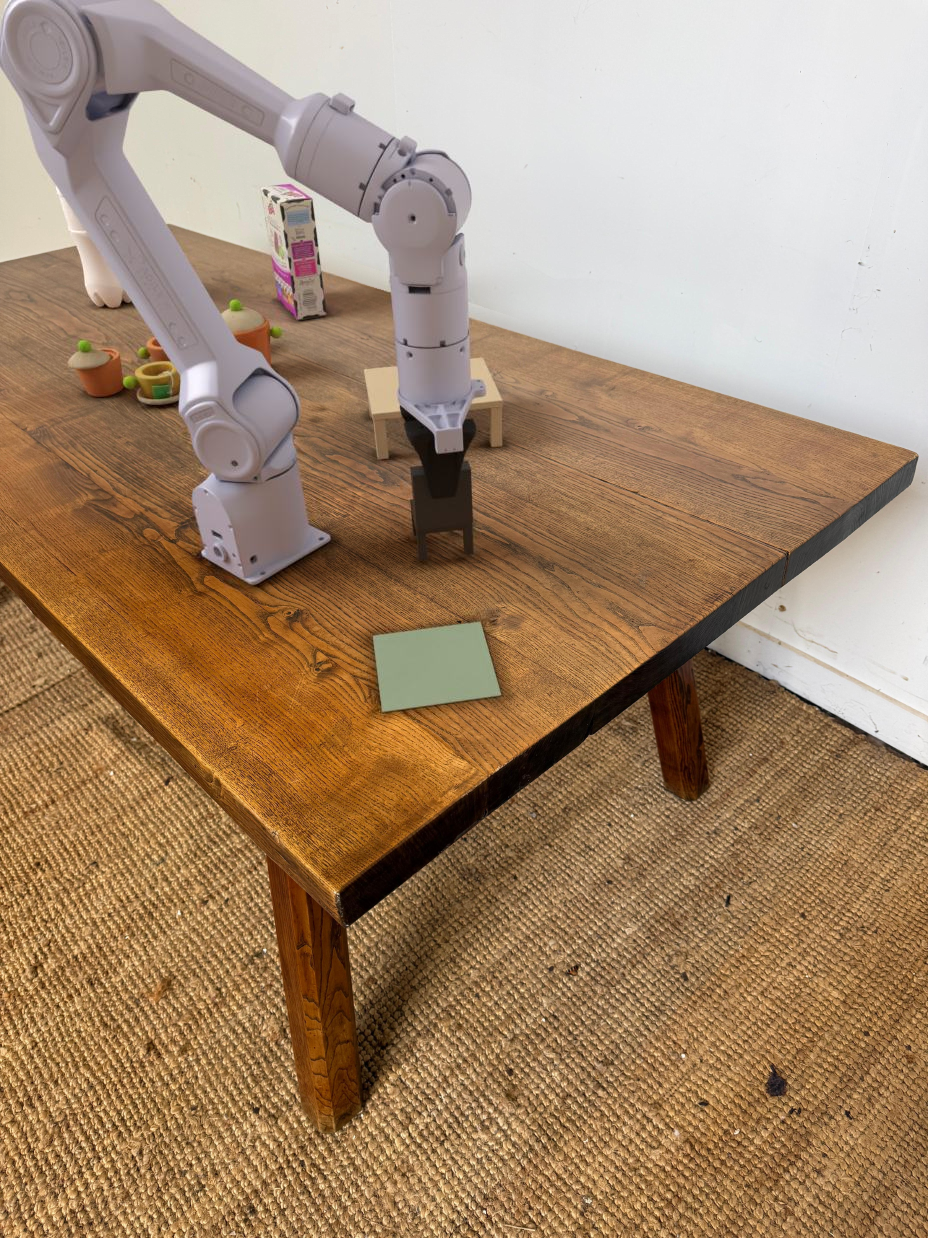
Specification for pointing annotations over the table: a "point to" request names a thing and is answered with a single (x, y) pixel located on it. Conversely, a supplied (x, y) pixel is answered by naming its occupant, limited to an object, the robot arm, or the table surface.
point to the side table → (386, 404)
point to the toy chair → (441, 510)
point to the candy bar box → (294, 250)
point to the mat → (434, 667)
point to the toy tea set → (163, 360)
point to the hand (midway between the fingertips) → (441, 489)
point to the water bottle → (93, 264)
